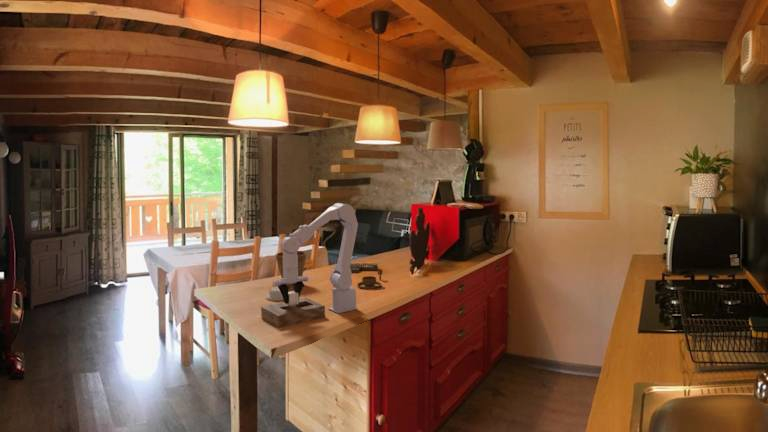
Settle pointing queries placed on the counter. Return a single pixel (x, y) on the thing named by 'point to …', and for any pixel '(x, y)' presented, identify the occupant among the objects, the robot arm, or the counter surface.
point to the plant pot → (301, 263)
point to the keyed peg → (292, 299)
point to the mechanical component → (274, 294)
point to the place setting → (371, 282)
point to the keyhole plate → (292, 312)
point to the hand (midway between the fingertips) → (291, 301)
